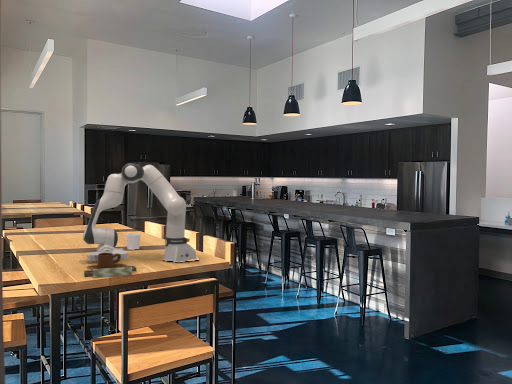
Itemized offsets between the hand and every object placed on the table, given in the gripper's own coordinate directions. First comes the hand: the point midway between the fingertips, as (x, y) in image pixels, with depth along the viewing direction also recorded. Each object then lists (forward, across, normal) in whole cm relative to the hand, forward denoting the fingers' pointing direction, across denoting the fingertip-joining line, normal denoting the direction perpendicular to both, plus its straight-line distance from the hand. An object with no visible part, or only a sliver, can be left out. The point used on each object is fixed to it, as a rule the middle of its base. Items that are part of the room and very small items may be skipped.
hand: (109, 258), depth 218 cm
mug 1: (+3, 0, +6) cm, 7 cm away
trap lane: (+6, 0, +6) cm, 9 cm away
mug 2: (-61, +22, +6) cm, 65 cm away
